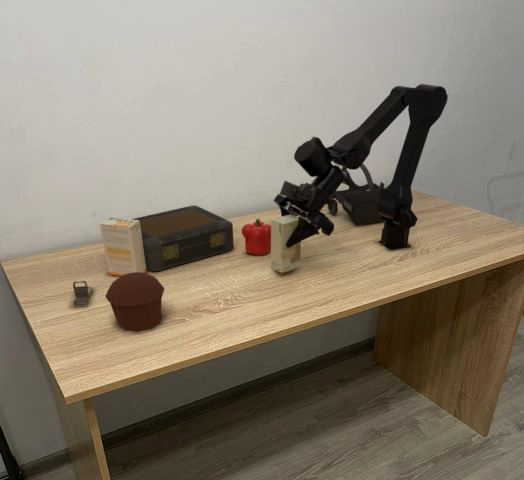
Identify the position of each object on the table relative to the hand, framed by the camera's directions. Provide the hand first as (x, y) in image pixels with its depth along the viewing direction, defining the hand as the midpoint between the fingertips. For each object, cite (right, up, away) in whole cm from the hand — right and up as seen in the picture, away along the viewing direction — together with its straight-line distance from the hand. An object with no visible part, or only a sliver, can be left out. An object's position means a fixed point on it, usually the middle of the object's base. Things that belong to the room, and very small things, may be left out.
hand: (281, 243), depth 126 cm
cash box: (-28, +1, +17) cm, 33 cm away
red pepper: (-6, +1, +16) cm, 17 cm away
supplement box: (-37, -7, +5) cm, 38 cm away
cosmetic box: (+1, -5, +4) cm, 7 cm away
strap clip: (-45, -14, -6) cm, 47 cm away
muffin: (-30, -19, -15) cm, 39 cm away
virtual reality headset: (+26, +17, +41) cm, 52 cm away
